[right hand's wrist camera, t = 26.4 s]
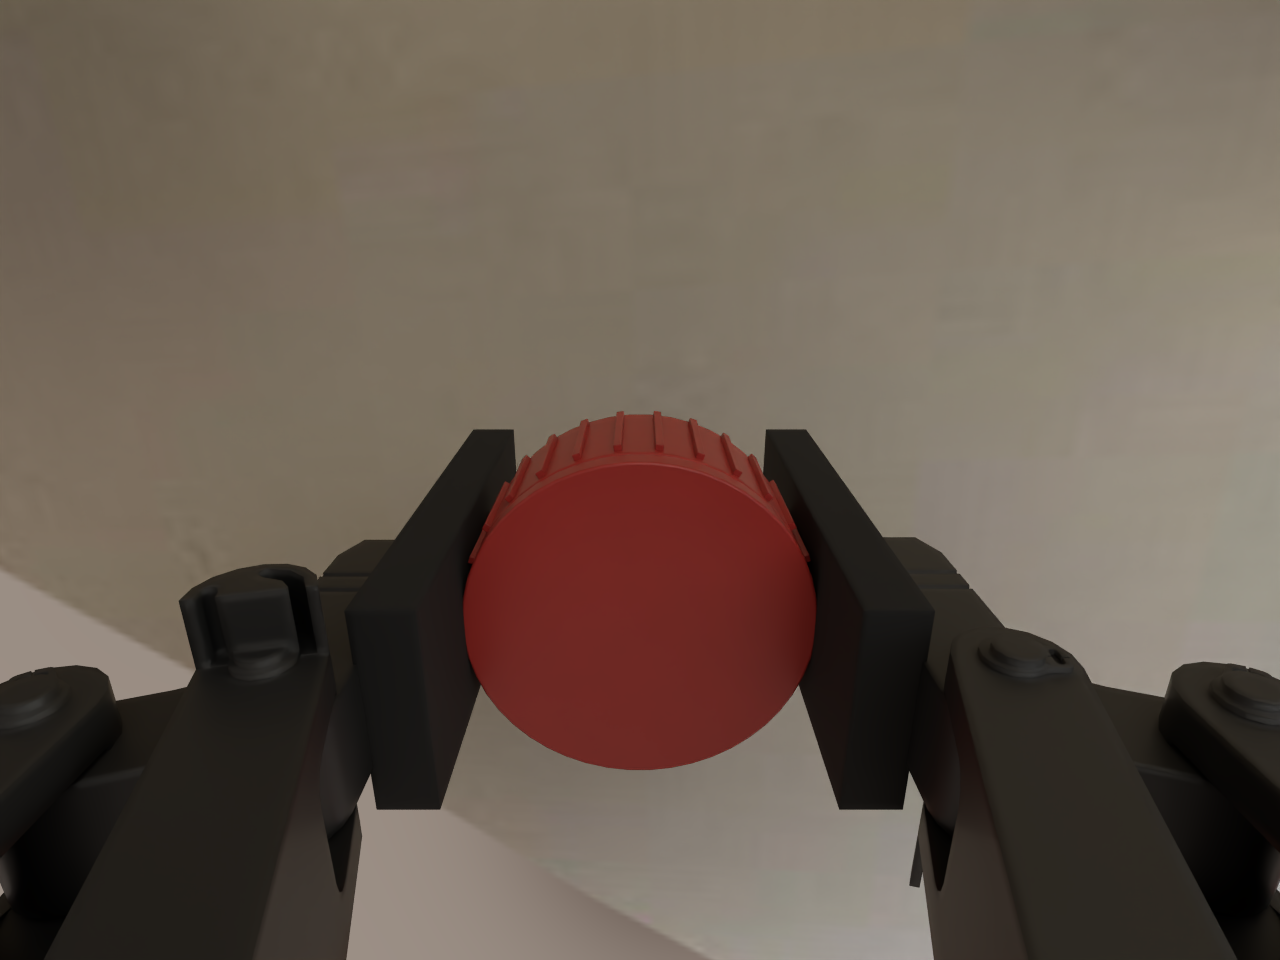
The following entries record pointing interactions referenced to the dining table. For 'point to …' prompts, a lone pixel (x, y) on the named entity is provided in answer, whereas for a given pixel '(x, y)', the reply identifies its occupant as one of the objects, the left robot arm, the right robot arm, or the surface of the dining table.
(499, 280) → the dining table surface
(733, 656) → the lid
